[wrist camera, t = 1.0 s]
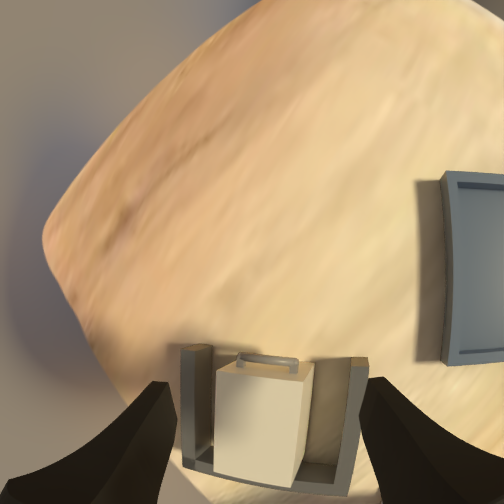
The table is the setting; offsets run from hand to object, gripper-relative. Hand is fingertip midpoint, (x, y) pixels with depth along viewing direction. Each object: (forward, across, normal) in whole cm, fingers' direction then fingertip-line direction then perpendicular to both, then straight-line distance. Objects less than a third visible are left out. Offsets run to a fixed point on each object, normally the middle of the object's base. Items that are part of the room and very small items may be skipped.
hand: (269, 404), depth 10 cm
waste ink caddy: (+10, -1, +10) cm, 14 cm away
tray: (+9, -19, -1) cm, 21 cm away
